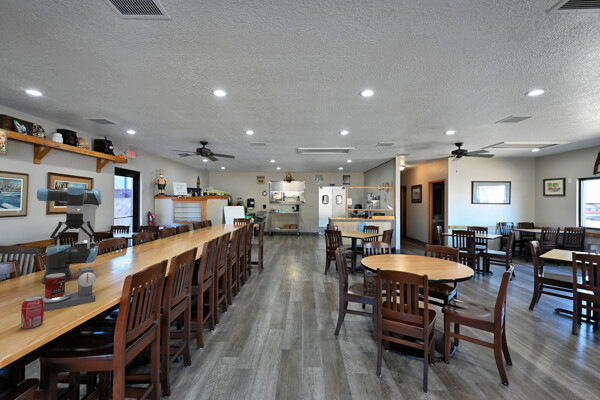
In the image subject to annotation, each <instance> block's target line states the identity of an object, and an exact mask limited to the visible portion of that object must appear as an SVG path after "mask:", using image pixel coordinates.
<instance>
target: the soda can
mask: <svg viewBox="0 0 600 400" xmlns="http://www.w3.org/2000/svg"><path fill="white" fill-rule="evenodd" d="M20 313H21V314H20V327H21V328H24V329H33V328H36V327H39V326H41V324H43V323H44V318H45V317H44V316H45V315H44V314H45V312H44V299H43V298H42V295H35V296H29V297H26V298H24V300H23V302H22V304H21V309H20Z"/></svg>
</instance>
